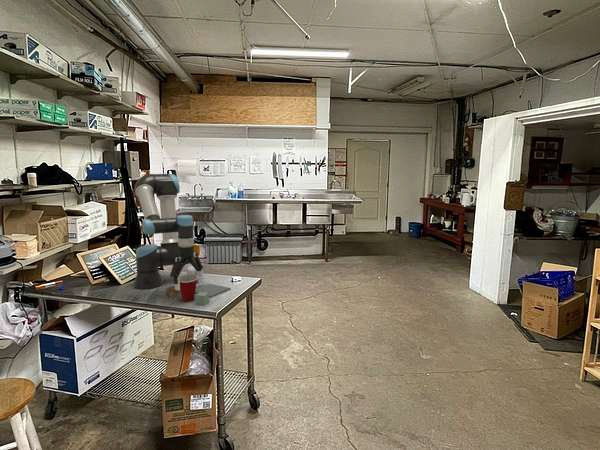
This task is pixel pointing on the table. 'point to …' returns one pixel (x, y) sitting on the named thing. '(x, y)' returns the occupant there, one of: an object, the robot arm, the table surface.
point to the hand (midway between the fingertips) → (187, 286)
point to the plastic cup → (188, 286)
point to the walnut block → (172, 292)
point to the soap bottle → (192, 270)
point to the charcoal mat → (212, 289)
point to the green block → (202, 298)
